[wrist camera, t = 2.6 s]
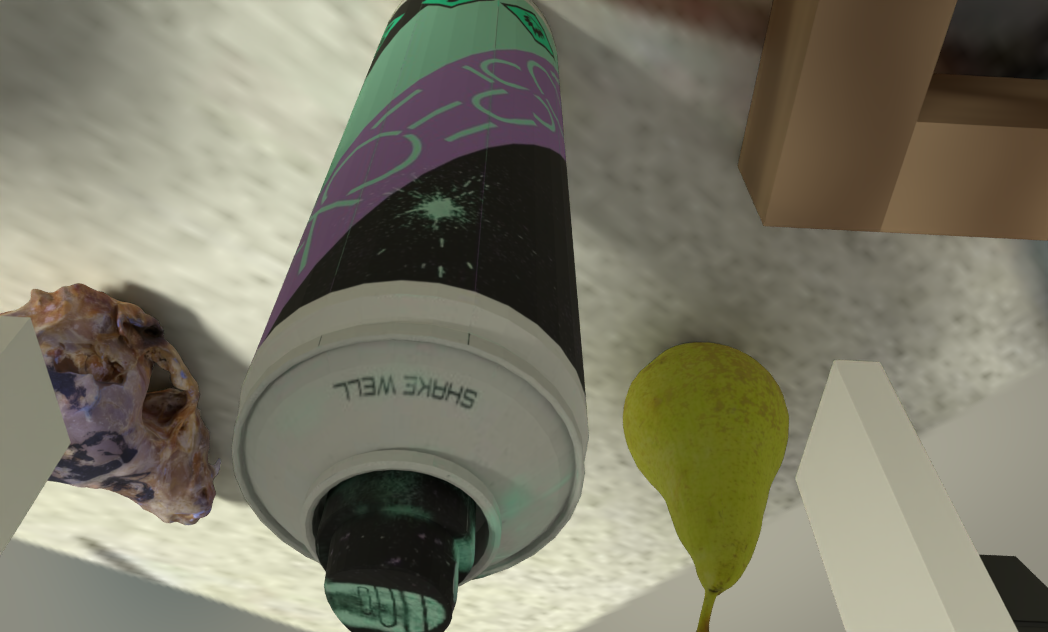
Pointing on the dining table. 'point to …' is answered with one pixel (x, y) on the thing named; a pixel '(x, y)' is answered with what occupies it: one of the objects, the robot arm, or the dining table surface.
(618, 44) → the dining table surface
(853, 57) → the hole block
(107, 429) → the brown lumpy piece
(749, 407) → the fruit
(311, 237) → the spray can
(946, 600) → the robot arm
